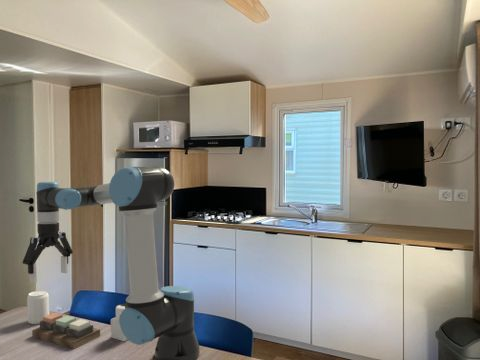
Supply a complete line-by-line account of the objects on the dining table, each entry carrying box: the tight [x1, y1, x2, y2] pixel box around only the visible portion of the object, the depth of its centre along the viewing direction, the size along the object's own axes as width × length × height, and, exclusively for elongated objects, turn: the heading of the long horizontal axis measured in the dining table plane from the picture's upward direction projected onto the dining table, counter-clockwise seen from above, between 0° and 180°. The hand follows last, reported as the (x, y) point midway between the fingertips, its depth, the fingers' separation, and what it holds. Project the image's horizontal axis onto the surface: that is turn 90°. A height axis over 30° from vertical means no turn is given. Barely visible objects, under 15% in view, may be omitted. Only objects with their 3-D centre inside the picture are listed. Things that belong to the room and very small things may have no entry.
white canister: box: [26, 290, 50, 325], centre depth 168 cm, size 8×8×12 cm
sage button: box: [56, 315, 77, 327], centre depth 153 cm, size 5×5×2 cm
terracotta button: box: [43, 312, 64, 324], centre depth 156 cm, size 5×5×2 cm
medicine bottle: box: [110, 303, 129, 342], centre depth 153 cm, size 7×7×12 cm
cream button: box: [69, 318, 91, 331], centre depth 149 cm, size 5×5×2 cm
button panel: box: [31, 320, 101, 350], centre depth 153 cm, size 23×12×5 cm, turn 62°
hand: (49, 277), depth 154 cm, fingers open, 13 cm apart
